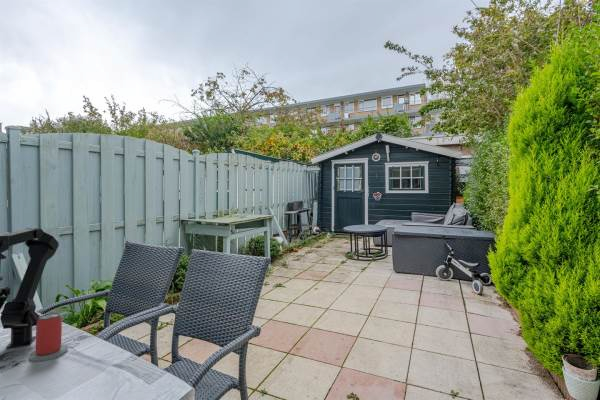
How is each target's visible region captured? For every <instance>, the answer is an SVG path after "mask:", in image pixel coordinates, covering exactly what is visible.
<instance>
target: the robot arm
mask: <svg viewBox="0 0 600 400" xmlns="http://www.w3.org/2000/svg"><path fill="white" fill-rule="evenodd" d="M23 243H24V245H25V246H26V247H27V248H28V250H27V252H28V253H27V254H28V255H29V258H30V259H29V262H28V265H27V267H26V270H25V272H24V275H23V278H22V279H21V282H20V285H19V287H18V290H17V293H16V295H15V297H14V298H13V299H12V300H11V301H7V299H8V298H9V295H11V287H9V286H7V285H5V286H4V285H3V286H0V310H1V309H2V308H3V309H2V311H1V312H0V322H1V325H2V328H3V329H4V330H6V329H10V342H9V343H8V344H7V345H6V346H5V348H6V349H11V348H19V347H23V346H29V345H31V344H32V343H33V342H34V340H36V335H35V336H33V327H36V324H37V321H38V318H39V317H40V316H41V315H40V314H38V312H36V308H37V306H36V303H35V300H34V297H35V295H36V292H37V289H38V286H39V284H40V281H41V278H42V277H43V276H42V275H43V272H44V271H45V267H46V264H47V261H49V260H50V259H52V258H53V256H55V254H56V252H57V250H58V248H59V242H58V240H57V239H56V238H55V237H54V236H53V235H51V234H49V233H47V232H45V231H44V230H43V229H42V228H39V227H34V228H33V227H31V228H30V227H27V228H24V229H21V230H15V231H12V232H7V233H4V234H0V273H2V272H1V271H2V269H1V268H2V260H6V259H7V256H6V255H4V254H2V253H4V252H6V251H8V250H10V247H12V246H15V245H18V244H23ZM3 279H4V277H3V276H0V282H1V281H3ZM3 306H4V307H3Z"/></svg>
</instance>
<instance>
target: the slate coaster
mask: <svg viewBox="0 0 600 400" xmlns="http://www.w3.org/2000/svg"><path fill="white" fill-rule="evenodd" d="M68 349H69V347H68V346H67V345H66V344H61V348H60V349H59V350H58V351H57V352H55V353H52V354H49V355H43V356H40V355H37V354H36V353H35V352H36V350H33V352H31V353H30V354H29V355H28V361H29V362H32V363H40V362H41V363H42V362H47V361H51V360H54V359H57V358H59V357H61V356H64V355H65V354H66V353H67V352H68Z"/></svg>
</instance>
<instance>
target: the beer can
mask: <svg viewBox="0 0 600 400" xmlns="http://www.w3.org/2000/svg"><path fill="white" fill-rule="evenodd" d="M39 316H40V317H39V318H38V321H37V324H36V326H35V336H36V338H35V351H36V352H35V353H36V354H37V355H40V356H43V355H49V354H52V353H55V352H57V351H58V350H59V349H60V348H61V345H62V336H63V335H62V334H63V333H62V332H63V330H62V329H63V328H62V327H63V321H62V320H63V319H62V316H61V313H59V312H49V313H45V314H42V315H39Z"/></svg>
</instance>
